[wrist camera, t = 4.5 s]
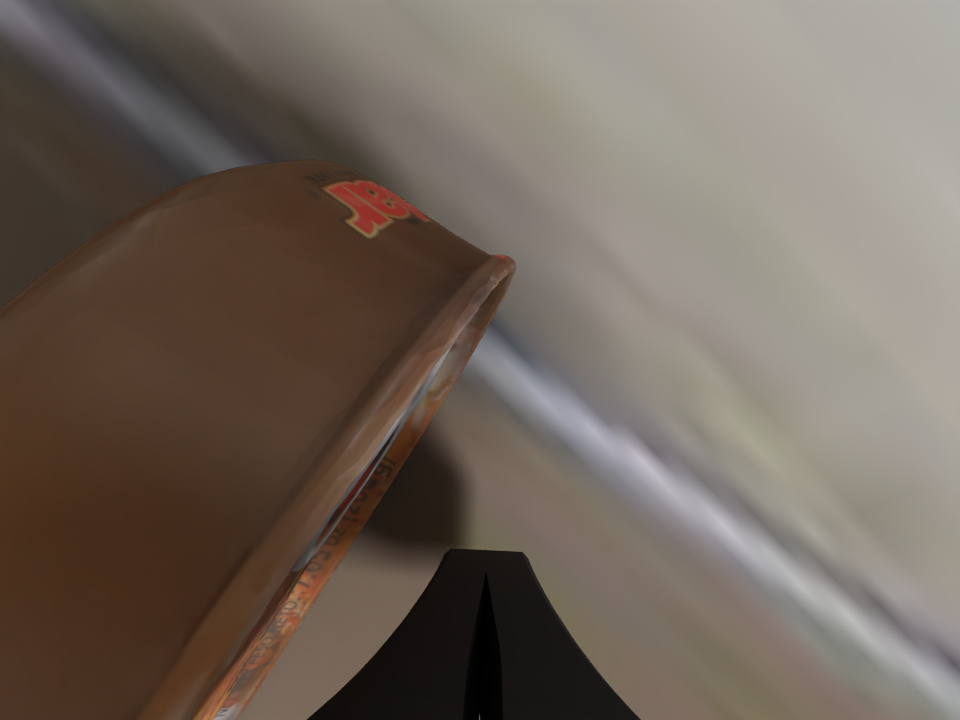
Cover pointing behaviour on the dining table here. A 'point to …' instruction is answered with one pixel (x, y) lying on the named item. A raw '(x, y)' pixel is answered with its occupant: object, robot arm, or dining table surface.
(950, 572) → the dining table surface
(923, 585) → the dining table surface
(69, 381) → the tin
